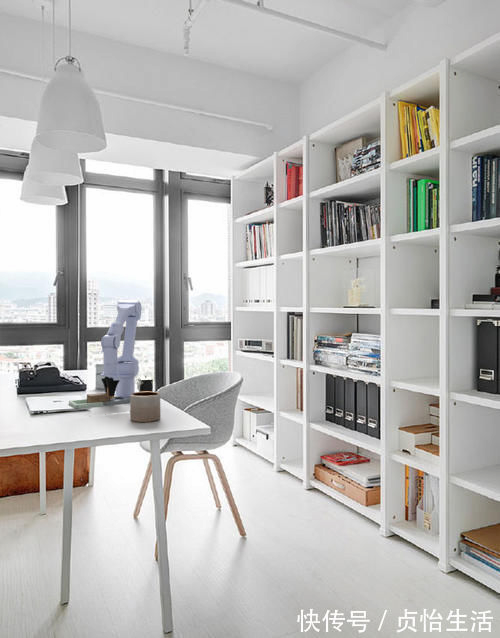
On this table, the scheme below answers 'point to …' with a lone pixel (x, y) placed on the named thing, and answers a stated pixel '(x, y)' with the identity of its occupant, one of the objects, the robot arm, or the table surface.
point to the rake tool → (110, 396)
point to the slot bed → (116, 401)
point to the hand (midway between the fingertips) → (110, 395)
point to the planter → (145, 406)
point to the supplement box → (99, 376)
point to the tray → (84, 403)
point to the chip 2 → (103, 396)
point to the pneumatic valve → (145, 384)
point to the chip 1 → (93, 398)
